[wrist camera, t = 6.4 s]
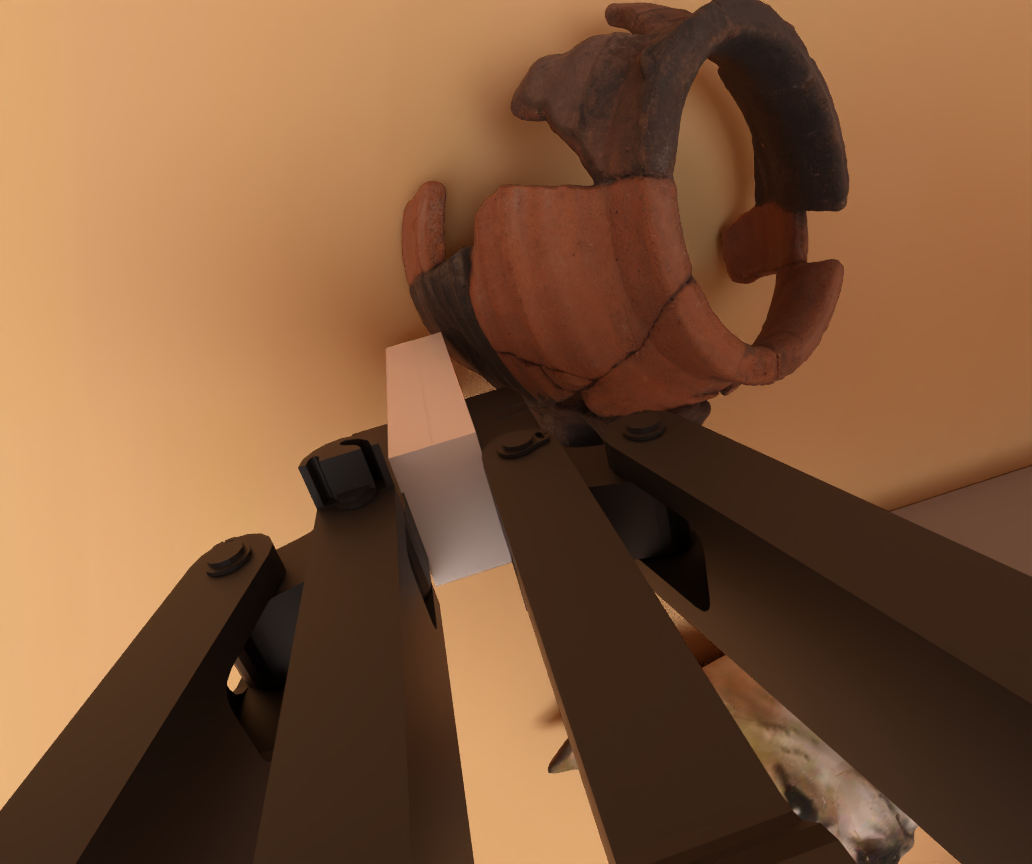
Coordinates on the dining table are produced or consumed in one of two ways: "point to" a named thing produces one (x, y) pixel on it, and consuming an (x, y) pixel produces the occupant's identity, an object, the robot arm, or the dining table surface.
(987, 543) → the walled box
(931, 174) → the dining table surface
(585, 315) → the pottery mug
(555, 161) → the dining table surface
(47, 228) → the dining table surface
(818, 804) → the ceramic sculpture
